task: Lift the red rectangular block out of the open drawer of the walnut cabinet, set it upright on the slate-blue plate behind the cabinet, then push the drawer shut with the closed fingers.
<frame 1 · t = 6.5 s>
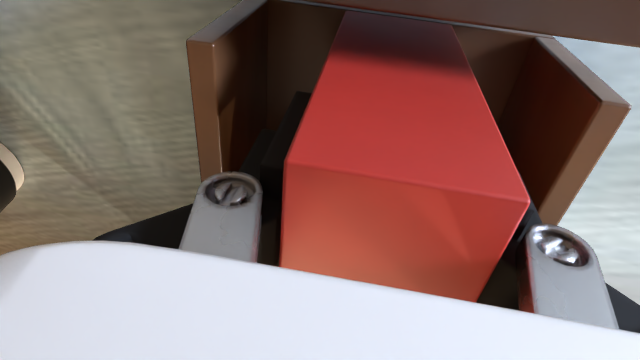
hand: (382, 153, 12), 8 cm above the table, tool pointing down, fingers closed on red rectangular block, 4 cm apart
red rectangular block: (385, 80, 16), point 2 cm above the table, touching drawer, gripper
drawer: (387, 93, 14), point 5 cm above the table, slide at 9.5 cm, touching red rectangular block
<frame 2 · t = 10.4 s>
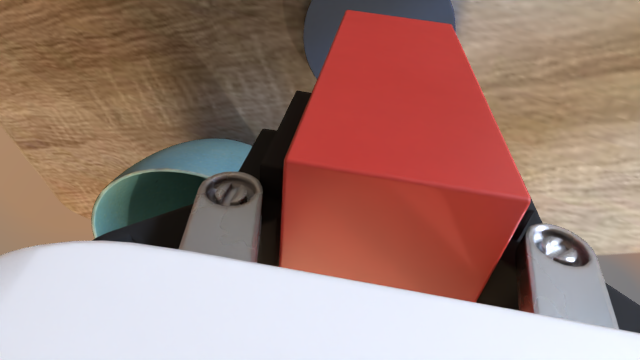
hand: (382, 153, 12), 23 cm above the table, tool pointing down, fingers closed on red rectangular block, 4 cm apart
plate: (377, 38, 32), on the table
red rectangular block: (385, 79, 16), point 17 cm above the table, touching gripper
green bowl: (242, 174, 43), on the table
when the fingers open (7 cm above the table, at t = 14.5 s): red rectangular block stays where it is, resting on plate.
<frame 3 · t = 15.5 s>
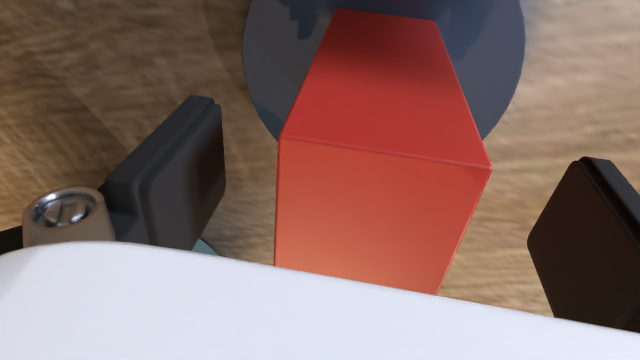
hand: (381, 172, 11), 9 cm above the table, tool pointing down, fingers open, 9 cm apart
plate: (376, 67, 18), on the table
red rectangular block: (374, 73, 17), point 1 cm above the table, touching plate
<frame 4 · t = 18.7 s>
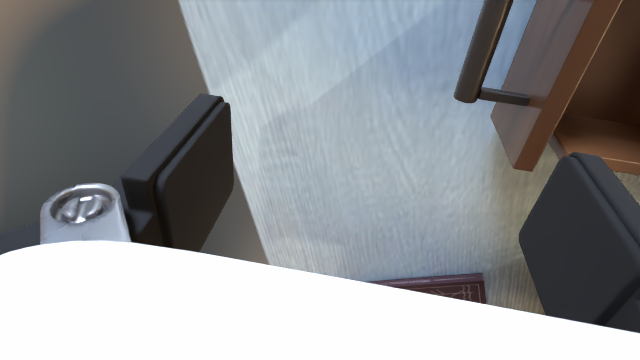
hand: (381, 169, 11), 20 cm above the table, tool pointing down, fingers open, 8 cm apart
chocolate bar: (402, 303, 46), on the table
drawer: (624, 55, 23), point 5 cm above the table, slide at 9.5 cm
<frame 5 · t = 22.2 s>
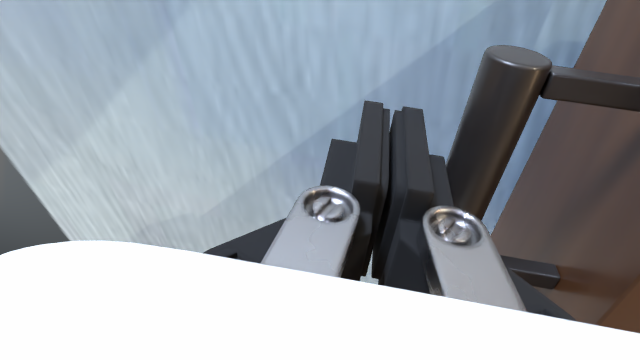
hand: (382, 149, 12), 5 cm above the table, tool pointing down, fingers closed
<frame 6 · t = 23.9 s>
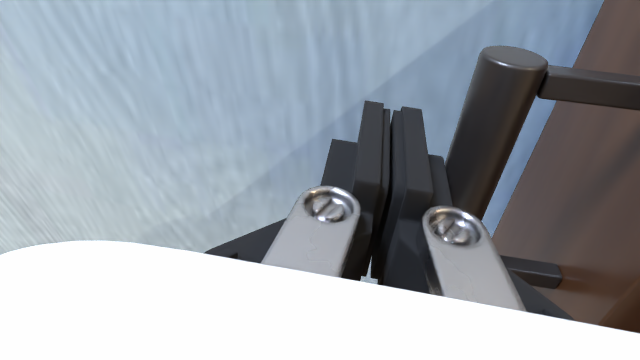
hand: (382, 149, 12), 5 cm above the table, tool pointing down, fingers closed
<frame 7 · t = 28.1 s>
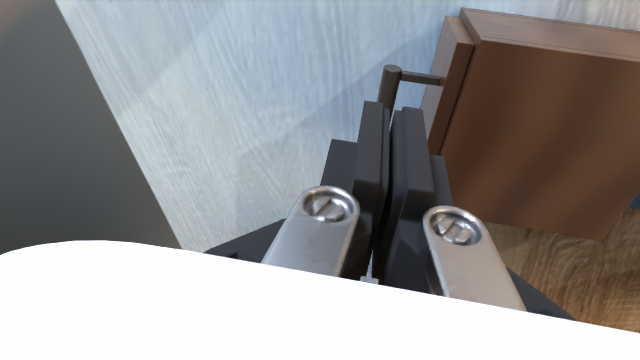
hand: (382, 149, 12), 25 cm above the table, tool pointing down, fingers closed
cabinet: (518, 101, 36), on the table
drawer: (483, 117, 32), point 4 cm above the table, slide at 0.0 cm, touching cabinet
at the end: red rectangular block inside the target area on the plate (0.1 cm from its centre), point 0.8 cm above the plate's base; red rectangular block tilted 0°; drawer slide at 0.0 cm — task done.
